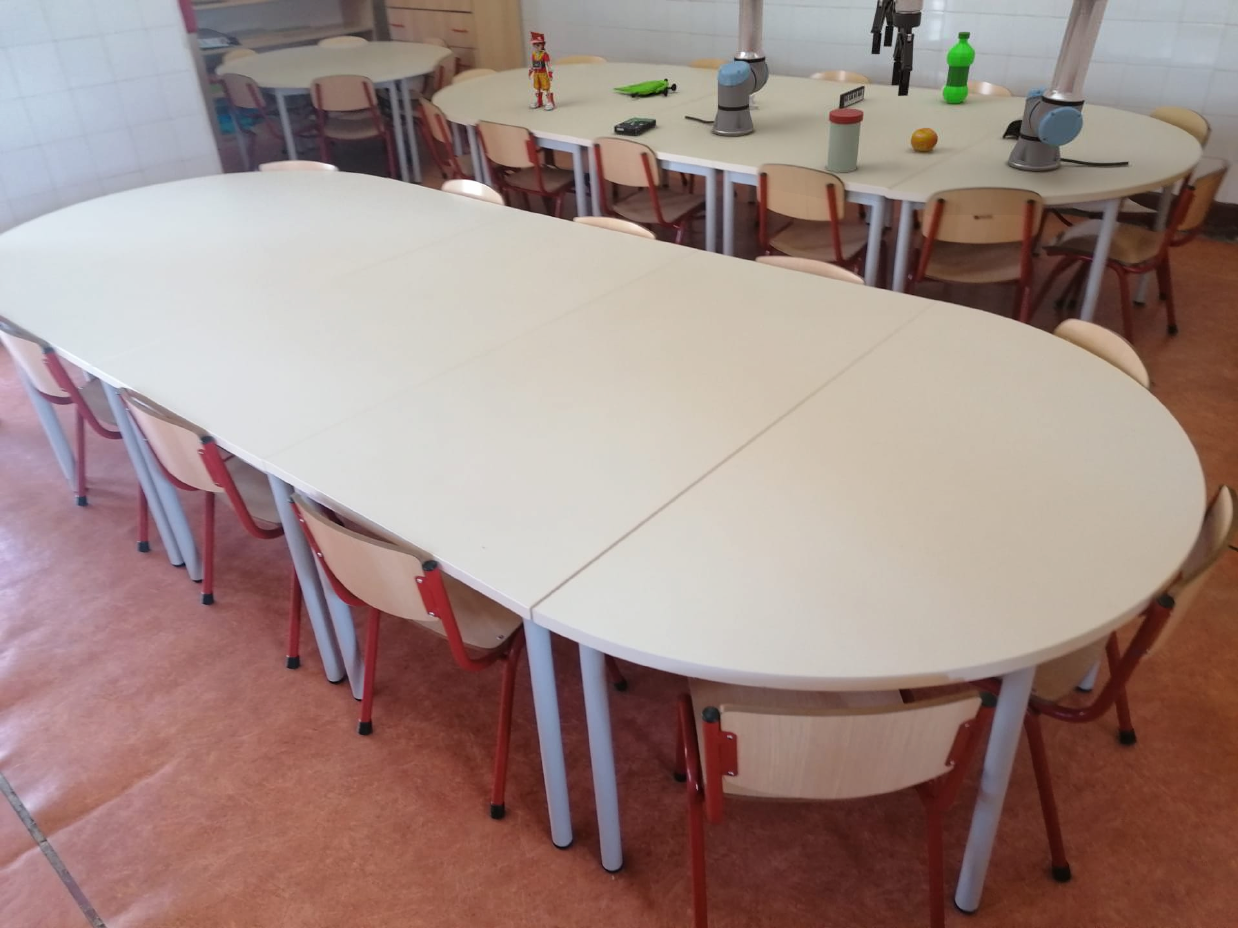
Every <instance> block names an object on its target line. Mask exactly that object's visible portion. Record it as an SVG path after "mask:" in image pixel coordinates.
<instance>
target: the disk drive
mask: <svg viewBox="0 0 1238 928" xmlns="http://www.w3.org/2000/svg"><path fill="white" fill-rule="evenodd" d="M656 126H657V119H655V118H647V117H646V118H645V117H635V116H634V117H631V118H629V119H627V120H625V121H622V122H620V123H618V124H616V125H614V126H613V131H614V133H615V134H620V135H629V136H638V135H641V134H642V133H644V132H646V131H649V130H651V129H653V128H655V127H656Z"/></svg>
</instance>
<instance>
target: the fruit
mask: <svg viewBox="0 0 1238 928" xmlns="http://www.w3.org/2000/svg"><path fill="white" fill-rule="evenodd" d="M938 141H939V136H938V134H937V132H936V131H935V130H934V129H932V128H929V127H922V128H918V129H916V130H915V131H914V132H913V133H912V135H911V137H910V146H911V147H912V148H913V149H914V150H915V151H918V152H928V151H931V150H933V149H934V148H935V147H936V145H937V144H938Z"/></svg>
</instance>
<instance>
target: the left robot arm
mask: <svg viewBox="0 0 1238 928" xmlns="http://www.w3.org/2000/svg"><path fill="white" fill-rule="evenodd" d="M738 5H739V7H738V47H737V48H738V49H737V51H736V52H735V54H734V55H733V61H730V62H726V63H723V64H721V65H720V67H719V68H718V70H717V111H716V114H715V118H714V120H705V119H702V118H698V117H693V116H690V115H689V116H688V115H685V116H684V118H685V119H688V120H693V121H697V122H701V123H703V124H712V133H713V134H715V135H717V136H721V137H741V136H746V135H750V134H752V133H754V127H755V126H754V122H753V118H752V115H751V111H750V108H749V97H750V96H751V95H754V94H755V93H757V92H759V91H761V90H762V89H763V88H764V87H765V86H766V84H767V83H768V81H769V77H770V68H769V65H768V63H767V62H766V53H765V52H764V50H762V48H763V23H764V20H763V19H764V0H739V4H738ZM895 5H896V3H894V0H877V2H876V9H875V12H874V16H873V17H874V18H873V23H872V26H871V30H870V34H872V43H871V53H870V54H871V55H880V54H881V46H882V36H883V32H882V30H883V27H884V23H885V22H886V25H885V28H884V37H883V47H885V48H886V47H888V48H891V47H892V46H893V39H894V28H895V27H894V26H893V22H894V14H895V12H897V11H896V10H895Z"/></svg>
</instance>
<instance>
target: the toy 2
mask: <svg viewBox="0 0 1238 928" xmlns="http://www.w3.org/2000/svg"><path fill="white" fill-rule="evenodd" d="M669 85H670V83H669V79H668V78H664V79H663V80H649V81H644V82H640V83H634V84H629V85H627V86H621V87H613V88H612V89H613V90H616V91H619V92H623V93H627V94H628V93H629V94H631V95H630V96H631V98H632V99H634V98H636V96H637V95H650V94H652V93H654V94H658V93H662V95H663V96H665V97H667V96H668V95H669V90H671V91H672V92H676V91H677V84H676V83H672V84H671V86H669Z"/></svg>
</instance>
